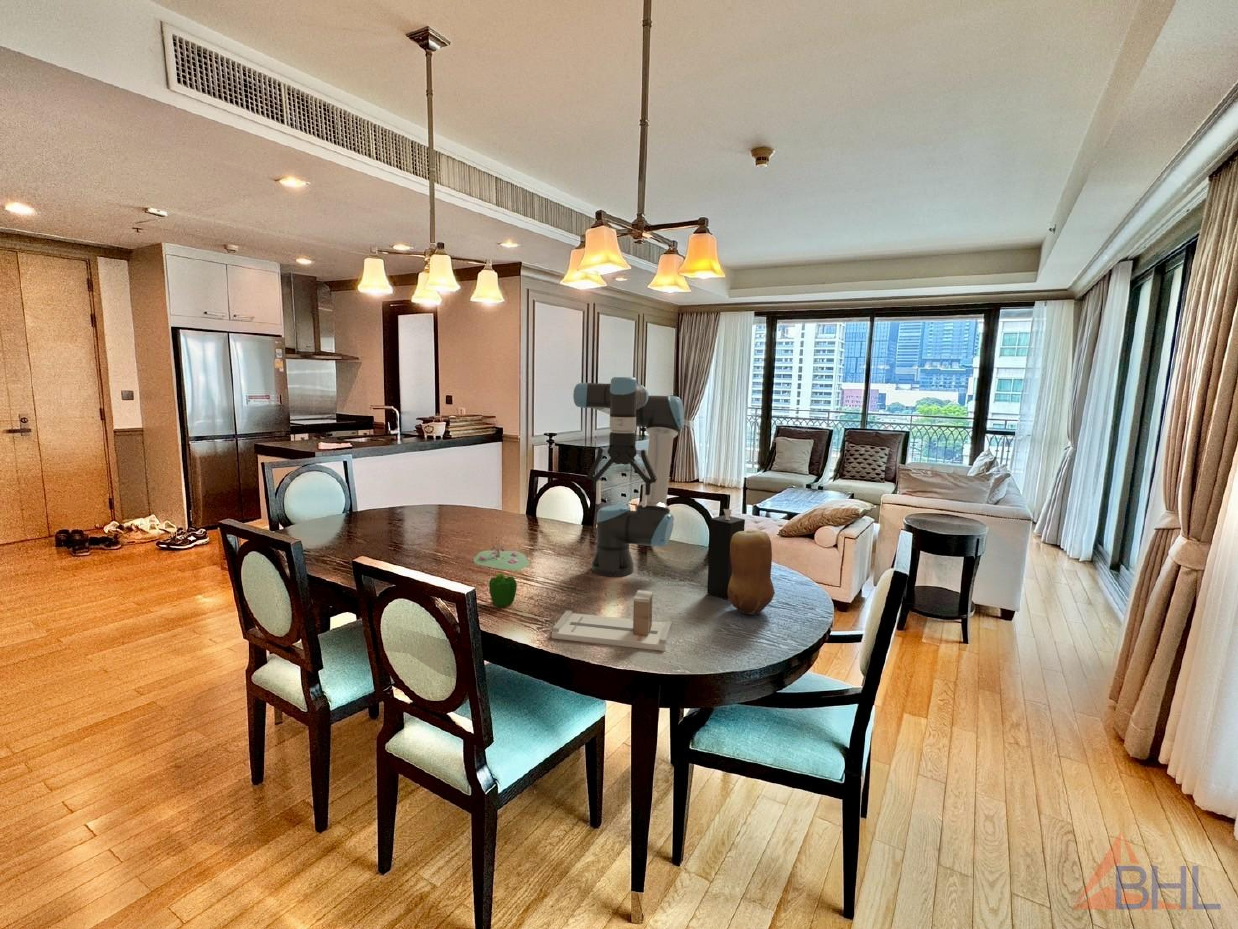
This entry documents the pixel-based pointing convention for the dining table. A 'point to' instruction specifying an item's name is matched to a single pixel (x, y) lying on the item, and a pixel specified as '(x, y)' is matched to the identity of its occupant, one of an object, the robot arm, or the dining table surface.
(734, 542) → the butternut squash
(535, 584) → the dining table surface
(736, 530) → the tissue box
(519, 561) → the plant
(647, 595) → the fader knob
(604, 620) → the slider console
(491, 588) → the bell pepper
